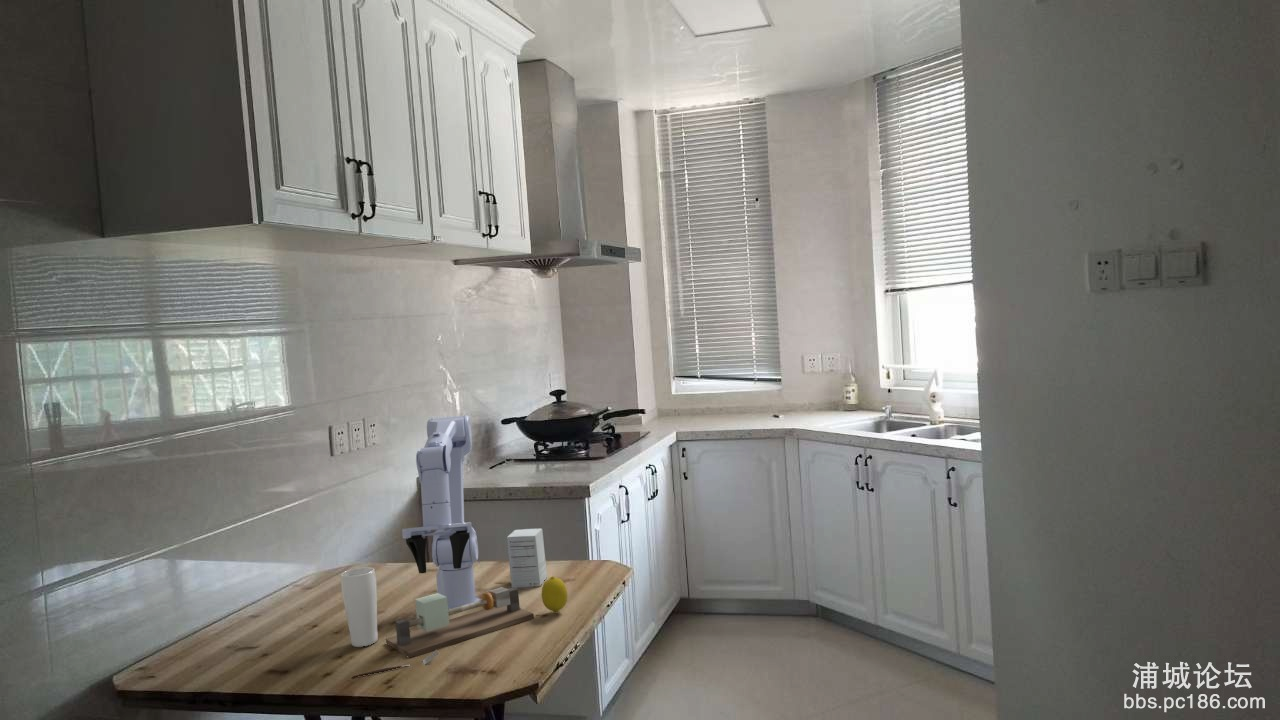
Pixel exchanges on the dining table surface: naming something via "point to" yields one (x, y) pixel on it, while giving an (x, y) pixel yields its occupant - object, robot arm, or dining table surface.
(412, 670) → the dining table surface
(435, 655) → the fork
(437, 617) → the pale green block
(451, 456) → the robot arm
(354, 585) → the drinking glass
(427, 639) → the board
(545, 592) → the lemon
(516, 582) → the supplement box
